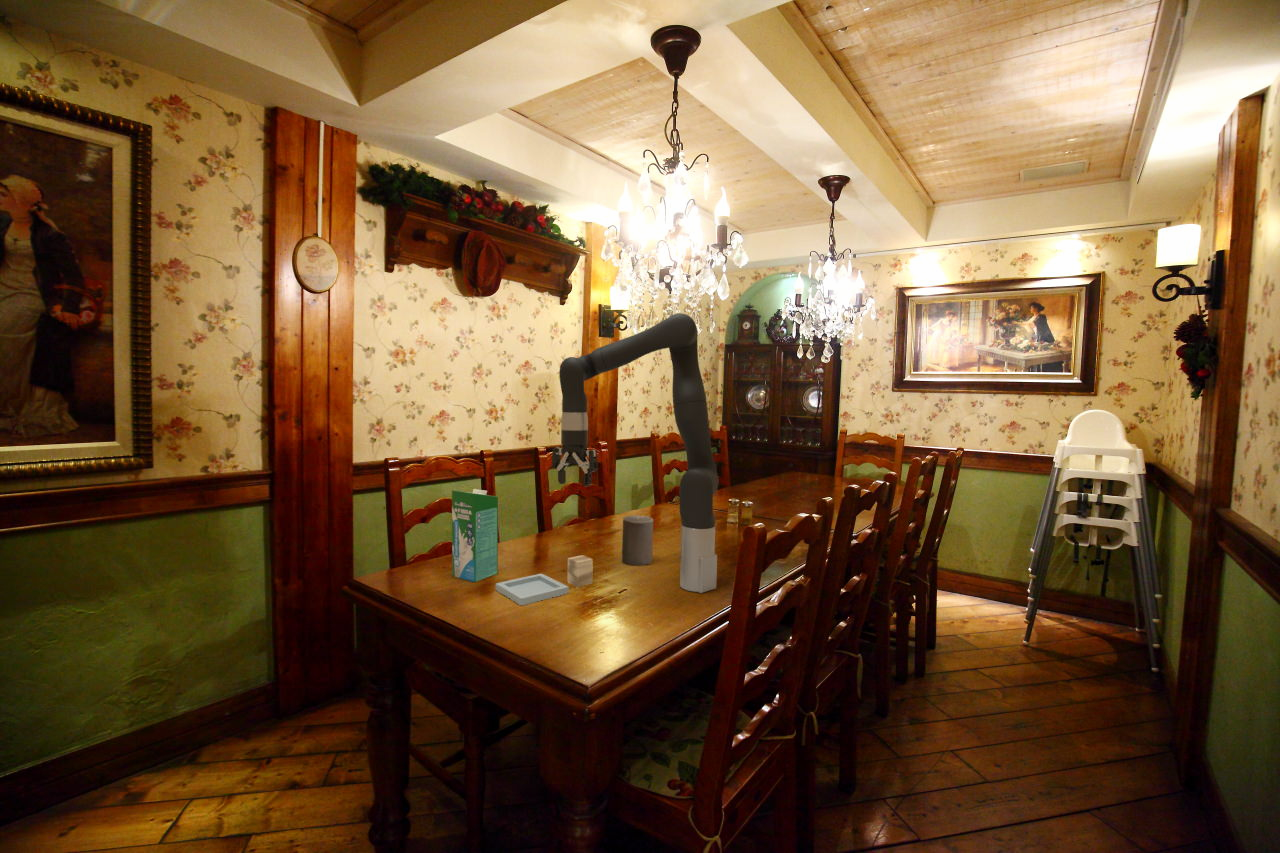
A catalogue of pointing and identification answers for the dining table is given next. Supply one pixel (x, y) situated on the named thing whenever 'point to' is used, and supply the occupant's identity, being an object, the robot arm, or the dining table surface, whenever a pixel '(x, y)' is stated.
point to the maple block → (580, 570)
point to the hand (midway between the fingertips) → (574, 484)
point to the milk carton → (474, 535)
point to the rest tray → (531, 589)
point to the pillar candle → (637, 540)
